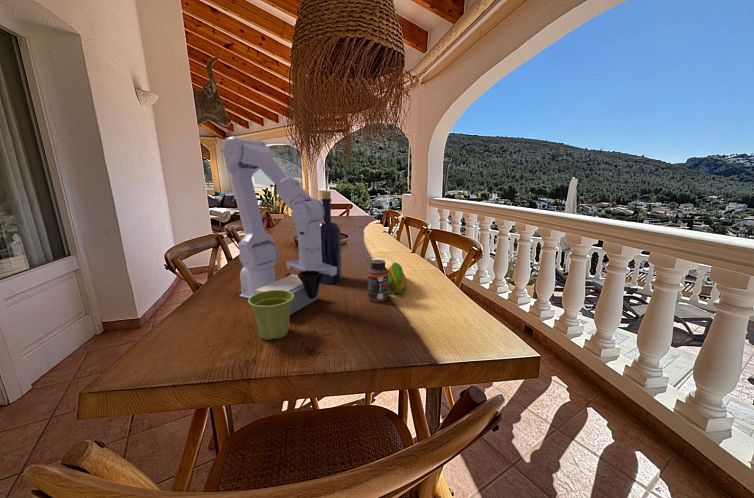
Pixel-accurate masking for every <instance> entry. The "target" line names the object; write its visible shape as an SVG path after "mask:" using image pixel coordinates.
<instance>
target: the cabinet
mask: <svg viewBox="0 0 754 498" xmlns="http://www.w3.org/2000/svg"><path fill="white" fill-rule="evenodd" d="M301 286H303V283H302V281H301V280H300V279H299V277H298V274H290V275H287V276H285V277H283V278H280V279H278V280H275V282H273V283H271V284H268V285H266V286H264V287H261V288H259V289H257V290H256V294H257V293H260V292H263V291H269V290H286V291H289V292H291V291H293V290H295V289H297V288H299V287H301Z"/></svg>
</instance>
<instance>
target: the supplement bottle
mask: <svg viewBox="0 0 754 498" xmlns="http://www.w3.org/2000/svg"><path fill="white" fill-rule="evenodd" d="M370 266H371V267H369V268H368V269H367V298H368V300H369V301H371V302H374V303H383V302H386V301H387V300H388V297H389V292H388V269H389V268H387V267H386V261H385V259H384V260H383V259H373V260H371V261H370Z"/></svg>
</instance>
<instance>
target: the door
mask: <svg viewBox="0 0 754 498" xmlns="http://www.w3.org/2000/svg"><path fill="white" fill-rule="evenodd" d="M291 292H292V293H293V294H294V298H293V300H292V304H291V307H290V316H291V315H293V314H295V313H296V312H298V311H300V310H301V309H303V308H305V307H306V306H308V305H310V304H312V303H313V302H314V301H315V302H316V301H317V300H318V299H320V287H319V288H318V293H317V297H315V298H314V299H309V298H308V295H307V292H306V289H305V287H304V285H303V286H301V287H299V288H297V289H295V290H293V291H291Z"/></svg>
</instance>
